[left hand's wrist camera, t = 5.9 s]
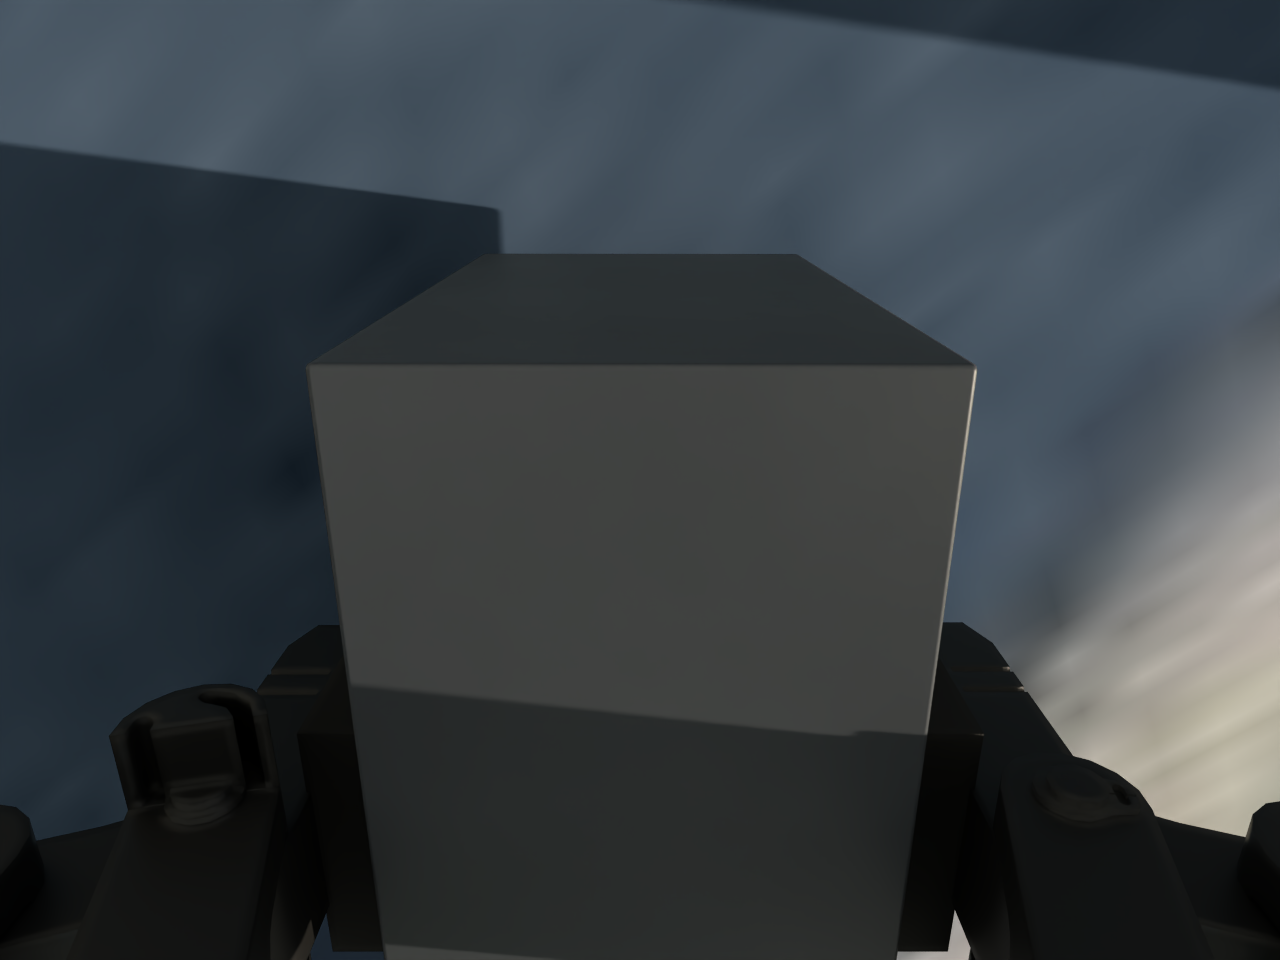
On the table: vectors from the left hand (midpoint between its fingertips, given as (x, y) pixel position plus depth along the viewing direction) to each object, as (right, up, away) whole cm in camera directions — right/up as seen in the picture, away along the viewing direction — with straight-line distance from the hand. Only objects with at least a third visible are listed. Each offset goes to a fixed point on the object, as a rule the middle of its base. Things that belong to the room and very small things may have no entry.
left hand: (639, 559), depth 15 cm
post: (0, -21, +8) cm, 23 cm away
